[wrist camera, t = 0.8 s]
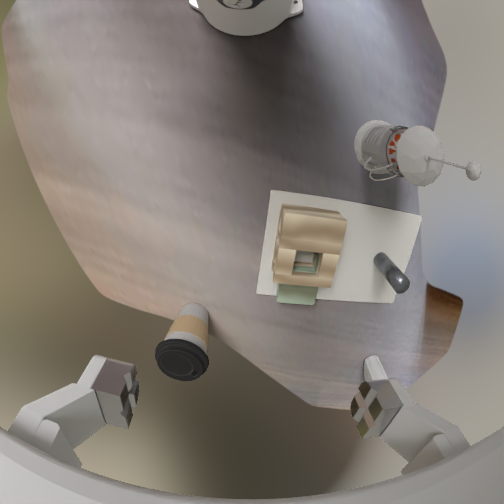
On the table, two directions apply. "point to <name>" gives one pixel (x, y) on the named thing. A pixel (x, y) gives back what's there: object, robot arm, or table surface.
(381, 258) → the pin
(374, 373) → the white rounded slab
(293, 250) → the clevis
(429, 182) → the french press
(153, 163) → the table surface
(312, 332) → the table surface
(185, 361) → the coffee cup
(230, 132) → the table surface
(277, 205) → the mat
